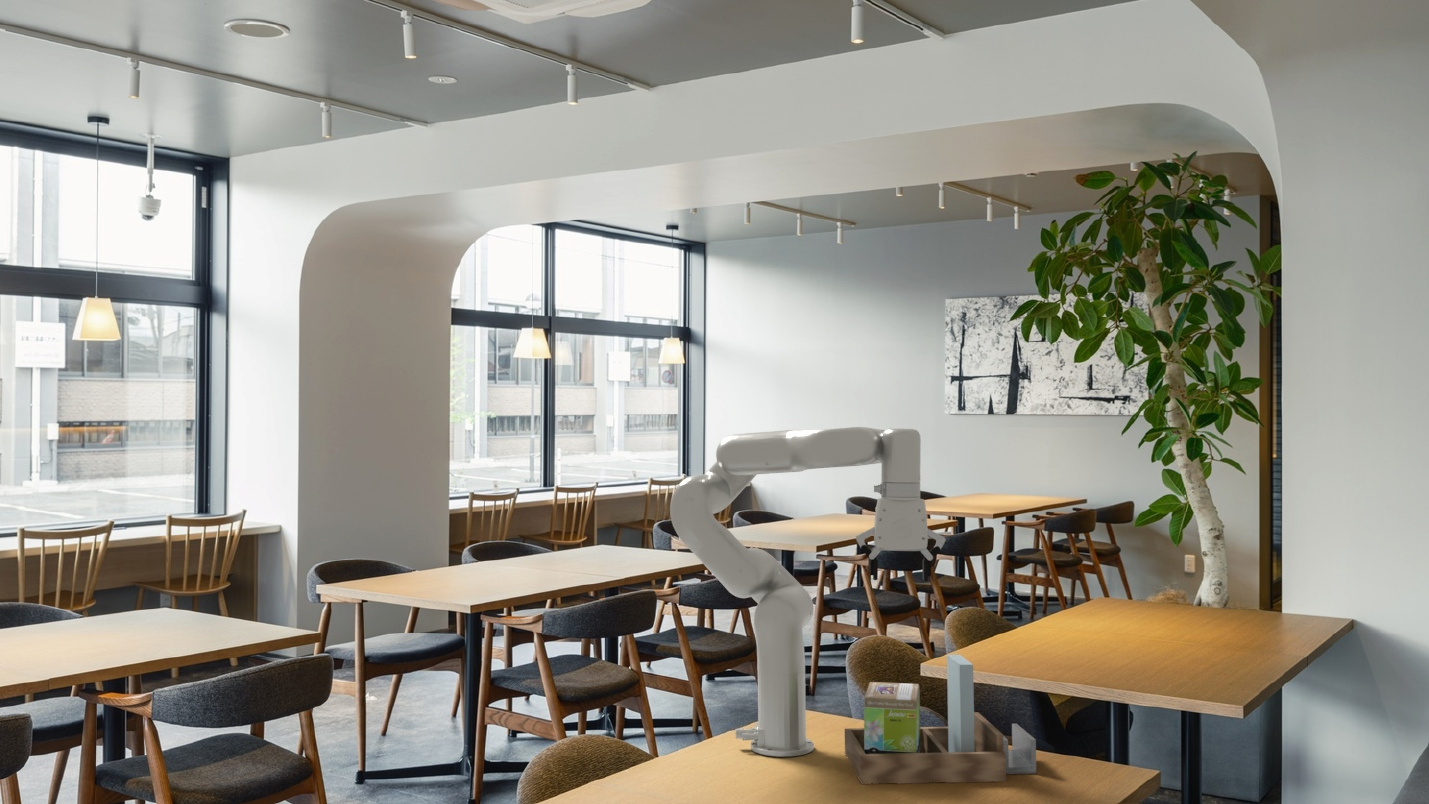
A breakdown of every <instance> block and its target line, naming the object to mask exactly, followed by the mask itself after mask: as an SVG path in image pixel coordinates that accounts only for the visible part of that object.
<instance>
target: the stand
mask: <svg viewBox="0 0 1429 804" xmlns="http://www.w3.org/2000/svg"><path fill="white" fill-rule="evenodd" d="M1011 738H1012V739H1011V743H1012V748H1011V749H1009V739H1008V738H1006V736H1005V735H1003V746H1004V752H1005V754H1006V775H1023V774H1024V775H1025V774H1026V775H1030V774H1032V775H1033V774H1034V775H1036V774H1037V742H1036V741H1037V740H1036V738H1034V736H1032V735H1031V734H1030V733H1029V732H1027V731H1026V730H1025V729H1024V728H1022V727H1021V726H1020V725H1019V724H1018V723H1011Z"/></svg>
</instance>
